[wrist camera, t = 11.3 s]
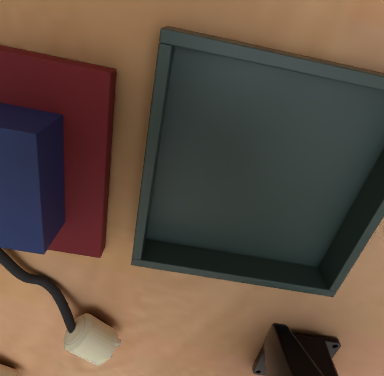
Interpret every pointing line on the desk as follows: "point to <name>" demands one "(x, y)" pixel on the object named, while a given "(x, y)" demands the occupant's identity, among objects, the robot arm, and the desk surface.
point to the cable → (69, 323)
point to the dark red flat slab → (70, 135)
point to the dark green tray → (259, 164)
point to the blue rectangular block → (31, 178)
